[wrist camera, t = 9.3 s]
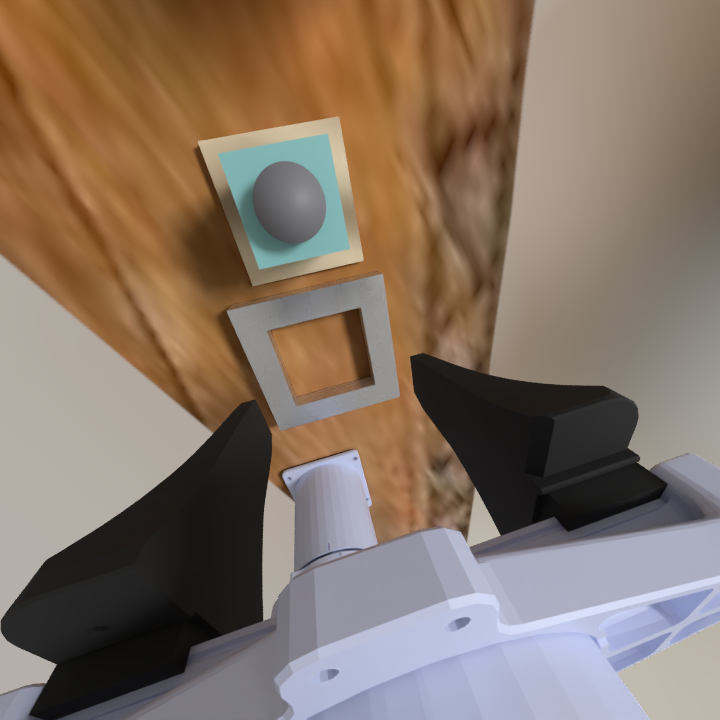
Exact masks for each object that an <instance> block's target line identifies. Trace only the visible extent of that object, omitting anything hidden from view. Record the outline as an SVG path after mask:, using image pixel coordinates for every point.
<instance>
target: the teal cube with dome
mask: <svg viewBox="0 0 720 720" xmlns="http://www.w3.org/2000/svg"><path fill="white" fill-rule="evenodd" d="M218 156H219V159H220V161H221V164H222V167H223V170H224V173H225V175H226V178H227V181H228V184H229V187H230V189H231V192H232V195H233V198H234V200H235V203H236V206H237V209H238V212H239V214H240V217H241V220H242V223H243V226H244V228H245V231H246V234H247V237H248V239H249V242H250V245H251V248H252V251H253V253H254V256H255V259H256V262H257V264H258V267H259V270H260V269H264V268H269V267H273V266H277V265H282V264H286V263H291V262H295V261H299V260H304V259H308V258H313V257H317V256H322V255H326V254H330V253H335V252H339V251H344V250H348V249H350V246H349V241H348V235H347V230H346V225H345V220H344V215H343V209H342V204H341V199H340V194H339V188H338V183H337V178H336V173H335V167H334V162H333V157H332V152H331V147H330V141H329V136H328V133H327V134H322V135H317V136H311V137H306V138H300V139H295V140H289V141H284V142H278V143H273V144H267V145H262V146H256V147H251V148H245V149H240V150H235V151H229V152H224V153H218Z"/></svg>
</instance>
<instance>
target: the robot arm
mask: <svg viewBox="0 0 720 720" xmlns="http://www.w3.org/2000/svg"><path fill="white" fill-rule="evenodd" d="M410 360H411V369H412V377H413V386H414V393H415V395H416V397H417V398H418V400H419V402H420V404H421V406H422V408H423V409H424V411H425V412H426V413H427V415H428V416H429V417H430V419H431V420H432V422H433V423H434V424H435V426H436V427H437V428H438V430H439V431H440V432H441V434H442V435H443V436H444V438H445V439H446V440H447V442H448V443H449V444H450V446H451V447H452V449H453V450H454V452H455V453H456V455H457V456H458V458H459V460H460V462H461V463H462V465H463V467H464V468H465V470H466V472H467V473H468V475H469V477H470V479H471V481H472V482H473V484H474V486H475V488H476V489H477V491H478V493H479V495H480V496H481V498H482V500H483V502H484V504H485V506H486V508H487V510H488V512H489V513H490V515H491V517H492V519H493V521H494V523H495V525H496V527H497V529H498V531H499V533H500V535H501V536H499V537H496V538H494V539H491V540H488V541H485V542H482V543H480V544H477V545H474V546H471V547H468V545H467V543H466V541H465V539H464V537H463V536H462V534H461V532H459V531H456V530H452V529H448V528H444V527H440V526H438V527H433V528H427V529H422V530H417V531H414V532H412V533H409V534H406V535H403V536H400V537H397V538H394V539H391V540H388V541H385V542H383V543H380V544H377V540H376V536H375V532H374V528H373V524H372V520H371V516H370V512H369V508H368V507H369V506H371V504H372V502H371V498H370V495H369V491H368V487H367V484H366V480H365V476H364V473H363V469H362V465H361V462H360V458H359V454H358V451H357V450H350V451H347V452H344V453H340V454H337V455H334V456H330V457H327V458H324V459H320V460H317V461H314V462H310V463H307V464H304V465H301V466H297V467H294V468H291V469H287V470H285V471H283V473H282V477H283V479H284V481H285V483H286V485H287V487H288V489H289V491H290V493H291V495H292V497H293V499H294V501H295V551H294V552H295V553H294V554H295V555H294V572H292V573H291V579H290V580H291V581H290V582H289V584H288V585H287V586H286V587H285V588H284V590H283V591H282V592H281V593H280V595H279V596H278V599H277V601H276V602H275V604H274V606H273V610H272V615H271V618H270V619H267V620H265V621H263V599H262V547H263V546H262V545H263V515H264V505H265V497H266V490H267V483H268V477H269V470H270V463H271V455H272V434H271V432H270V429H269V427H268V425H267V423H266V421H265V419H264V417H263V415H262V413H261V410H260V408H259V406H258V404H257V402H256V400H252V401H248V402H244V403H241V404H240V405H239V406H238V407H237V408H236V409H235V410H234V411H233V412H232V414H231V415H230V416H229V417H228V418H227V419H226V420H225V421H224V422H223V424H222V425H221V426H220V427H219V428H218V429H217V430H216V431H215V432H214V434H213V435H212V436H211V437H210V438H209V439H208V440H207V441H206V442H205V443H204V444H203V445H202V446H201V447H200V448H199V449H198V450H197V451H196V452H195V453H194V454H193V455H192V456H191V457H190V458H189V459H188V460H187V461H186V462H185V463H184V464H182V466H180V467H179V468H178V469H177V470H176V471H175V472H173V473H172V474H171V475H170V476H169V477H167V478H166V479H165V480H164V481H162V482H161V483H160V484H159V485H157V486H156V487H155V488H154V489H152V490H151V491H150V492H149V493H147V494H146V495H145V496H143V497H142V498H141V499H140V500H138V501H137V502H135V503H134V504H133V505H131V506H130V507H128V508H127V509H126V510H124V511H123V512H121V513H120V514H118V515H117V516H115V517H114V518H112V519H111V520H110V521H108V522H107V523H105V524H104V525H102V526H101V527H99V528H97V529H96V530H94V531H93V532H91V533H90V534H88V535H86V536H85V537H83V538H81V539H80V540H78V541H77V542H75V543H73V544H72V545H70V546H69V547H67V548H66V549H64V550H62V551H61V552H59V553H57V554H56V555H54V556H52V557H50V558H49V559H47V560H46V561H45V562H44V563H43V565H42V566H41V568H40V569H39V570H38V571H37V573H36V574H35V575H34V577H33V578H32V579H31V581H30V582H29V583H28V585H27V586H26V587H25V589H24V590H23V591H22V592H21V594H20V595H19V597H18V598H17V599H16V600H15V602H14V603H13V604H12V605H11V607H10V608H9V609H8V611H7V612H6V614H5V615H4V617H3V618H2V619H1V632H2V634H3V636H4V637H5V638H6V640H7V641H9V642H10V643H12V644H13V645H15V646H17V647H19V648H21V649H23V650H26V651H28V652H30V653H32V654H35V655H37V656H39V657H41V658H44V659H46V660H48V661H51V662H53V663H55V664H57V666H56V668H55V669H54V671H53V673H52V674H51V676H50V678H49V680H48V682H47V683H46V684H44V683H41V684H32V685H27V686H24V687H21V688H18V689H15V690H12V691H9V692H6V693H4V694H1V695H0V720H650V719H649V717H648V716H647V715H646V713H645V712H644V710H643V709H642V708H641V706H640V705H639V703H638V702H637V701H636V699H635V698H634V696H633V695H632V694H631V692H630V691H629V689H628V688H627V687H626V685H625V684H624V683H623V681H622V680H621V678H620V677H619V676H618V674H617V673H618V672H620V671H622V670H624V669H626V668H628V667H630V666H632V665H634V664H636V663H638V662H640V661H642V660H644V659H646V658H648V657H650V656H652V655H654V654H656V653H658V652H660V651H662V650H664V649H666V648H668V647H670V646H672V645H674V644H676V643H678V642H680V641H682V640H684V639H686V638H688V637H690V636H692V635H694V634H696V633H698V632H700V631H702V630H704V629H706V628H708V627H710V626H712V625H714V624H716V623H718V622H720V468H718V467H717V466H715V465H713V464H712V463H710V462H708V461H706V460H704V459H703V458H701V457H699V456H697V455H696V454H694V453H686V454H684V455H681V456H678V457H675V458H672V459H669V460H667V461H664V462H661V463H659V464H657V465H655V466H654V467H653V468H651V469H650V470H649V471H648V470H647V469H645V468H644V467H643V466H641V465H640V464H638V463H637V462H639V460H640V457H639V455H637V454H635V453H634V452H633V451H631V450H630V449H628V448H627V447H628V445H629V442H630V440H631V437H632V435H633V433H634V430H635V428H636V425H637V421H638V408H637V406H636V404H635V403H634V401H632V400H630V399H628V398H626V397H624V396H622V395H620V394H618V393H617V392H615V391H613V390H611V389H609V388H607V387H605V386H574V385H554V384H541V383H532V382H525V381H518V380H511V379H506V378H501V377H496V376H492V375H487V374H483V373H480V372H476V371H473V370H469V369H466V368H463V367H460V366H457V365H454V364H452V363H449V362H446V361H443V360H441V359H438V358H436V357H433V356H430V355H427V354H424V353H421V354H417V355H414V356H410ZM354 457H355V458H354ZM288 477H290V478H288Z"/></svg>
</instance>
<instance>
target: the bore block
mask: <svg viewBox="0 0 720 720" xmlns="http://www.w3.org/2000/svg"><path fill="white" fill-rule="evenodd" d="M356 308H358V311H359V316H360V321H361V326H362V331H363V336H364V341H365V346H366V351H367V356H368V361H369V366H370V372H371V376H370V377H366V378H362V379H359V380H355V381H351V382H348V383H344V384H341V385H337V386H333V387H330V388H326V389H322V390H319V391H315V392H311V393H308V394H304V395H301V396H297V397H296V395H295V392H294V390H293V387H292V384H291V382H290V379H289V376H288V374H287V371H286V369H285V366H284V363H283V361H282V358H281V355H280V353H279V350H278V347H277V345H276V342H275V339H274V337H273V334H272V331H271V330H272V329H276V328H280V327H284V326H288V325H292V324H296V323H300V322H304V321H308V320H312V319H316V318H320V317H324V316H328V315H332V314H336V313H340V312H344V311H348V310H352V309H356ZM227 313H228V316H229V318H230V320H231V322H232V325H233V327H234V329H235V331H236V333H237V336H238V338H239V340H240V342H241V345H242V347H243V349H244V351H245V353H246V356H247V358H248V360H249V362H250V365H251V367H252V369H253V371H254V373H255V376H256V378H257V380H258V382H259V385H260V387H261V389H262V391H263V394H264V396H265V398H266V400H267V402H268V405H269V407H270V409H271V411H272V414H273V416H274V418H275V420H276V422H277V425H278V427H279V429H280V431H282V430H285V429H289V428H292V427H296V426H299V425H303V424H306V423H310V422H313V421H317V420H320V419H324V418H327V417H331V416H334V415H338V414H341V413H344V412H348V411H351V410H355V409H358V408H362V407H365V406H369V405H372V404H376V403H379V402H383V401H386V400H390V399H393V398H397V397H400V393H399V386H398V379H397V372H396V365H395V357H394V350H393V343H392V336H391V329H390V322H389V315H388V308H387V301H386V293H385V286H384V279H383V274H382V273H380V272H379V271H374V272H370V273H365V274H361V275H357V276H353V277H349V278H344V279H340V280H336V281H332V282H327V283H323V284H319V285H315V286H311V287H306V288H302V289H298V290H294V291H289V292H285V293H281V294H277V295H273V296H268V297H264V298H260V299H256V300H251V301H247V302H243V303H239V304H235V305H231V306H230V307H229V309H228V310H227Z"/></svg>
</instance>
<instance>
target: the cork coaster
mask: <svg viewBox="0 0 720 720" xmlns="http://www.w3.org/2000/svg"><path fill="white" fill-rule="evenodd" d="M327 133H328V136H329V141H330V147H331V152H332V157H333V162H334V167H335V173H336V178H337V183H338V188H339V194H340V199H341V204H342V209H343V215H344V220H345V225H346V230H347V235H348V241H349V246H350V249H348V250H344V251H339V252H335V253H330V254H326V255H322V256H317V257H313V258H308V259H304V260H299V261H295V262H291V263H286V264H282V265H277V266H273V267H269V268H264V269H260V270H259V267H258V264H257V262H256V259H255V256H254V253H253V251H252V248H251V245H250V242H249V239H248V237H247V234H246V231H245V228H244V226H243V223H242V220H241V217H240V214H239V212H238V209H237V206H236V203H235V200H234V198H233V195H232V192H231V189H230V187H229V184H228V181H227V178H226V175H225V173H224V170H223V167H222V164H221V161H220V159H219V156H218V153H224V152H229V151H235V150H240V149H245V148H251V147H256V146H262V145H267V144H273V143H278V142H284V141H289V140H295V139H300V138H306V137H311V136H317V135H322V134H327ZM198 144H199V146H200V149H201V152H202V154H203V157H204V160H205V162H206V165H207V167H208V170H209V173H210V175H211V178H212V181H213V183H214V186H215V188H216V191H217V194H218V196H219V199H220V202H221V204H222V207H223V209H224V212H225V215H226V217H227V220H228V223H229V225H230V228H231V230H232V233H233V236H234V238H235V241H236V244H237V246H238V249H239V251H240V254H241V257H242V259H243V262H244V264H245V267H246V270H247V272H248V275H249V278H250V280H251V283H252V285H253V286H257V285H261V284H265V283H270V282H274V281H278V280H283V279H287V278H291V277H295V276H300V275H304V274H308V273H313V272H317V271H321V270H326V269H330V268H334V267H339V266H343V265H347V264H352V263H356V262H360V261H364V260H363V254H362V248H361V242H360V236H359V230H358V225H357V219H356V213H355V207H354V201H353V195H352V189H351V184H350V178H349V172H348V166H347V160H346V154H345V148H344V143H343V137H342V131H341V125H340V119H339V117H333V118H328V119H322V120H316V121H311V122H305V123H299V124H294V125H288V126H282V127H277V128H271V129H265V130H260V131H254V132H248V133H243V134H237V135H231V136H226V137H220V138H214V139H209V140H203V141H198Z"/></svg>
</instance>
